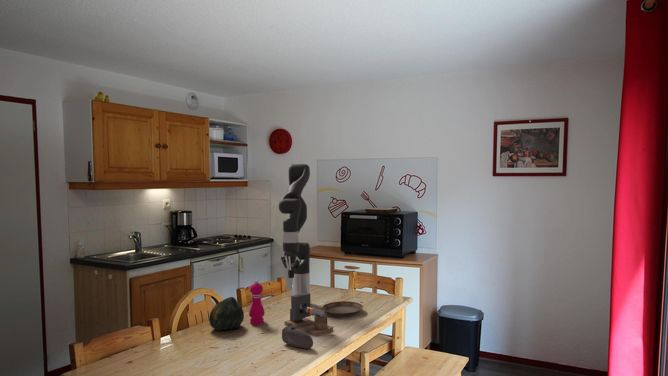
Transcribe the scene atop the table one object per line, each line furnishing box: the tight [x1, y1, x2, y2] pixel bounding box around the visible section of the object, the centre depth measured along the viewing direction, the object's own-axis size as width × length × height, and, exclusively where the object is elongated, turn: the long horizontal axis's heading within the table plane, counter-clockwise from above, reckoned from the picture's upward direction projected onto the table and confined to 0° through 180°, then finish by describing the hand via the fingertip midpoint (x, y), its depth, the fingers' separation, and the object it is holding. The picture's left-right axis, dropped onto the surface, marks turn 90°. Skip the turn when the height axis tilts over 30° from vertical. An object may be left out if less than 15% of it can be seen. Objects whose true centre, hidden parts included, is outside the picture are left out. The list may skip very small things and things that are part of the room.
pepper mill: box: [248, 279, 265, 325], centre depth 207 cm, size 7×7×20 cm
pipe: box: [300, 304, 327, 318], centre depth 199 cm, size 20×3×3 cm, turn 44°
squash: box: [208, 296, 245, 331], centre depth 199 cm, size 14×15×15 cm
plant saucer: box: [321, 300, 364, 319], centre depth 221 cm, size 21×21×3 cm
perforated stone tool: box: [281, 325, 314, 349], centre depth 176 cm, size 15×5×7 cm, turn 52°
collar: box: [290, 292, 312, 320], centre depth 202 cm, size 3×9×10 cm, turn 134°
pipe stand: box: [283, 308, 334, 337], centre depth 199 cm, size 22×10×7 cm, turn 44°
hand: (291, 277), depth 207 cm, fingers closed
